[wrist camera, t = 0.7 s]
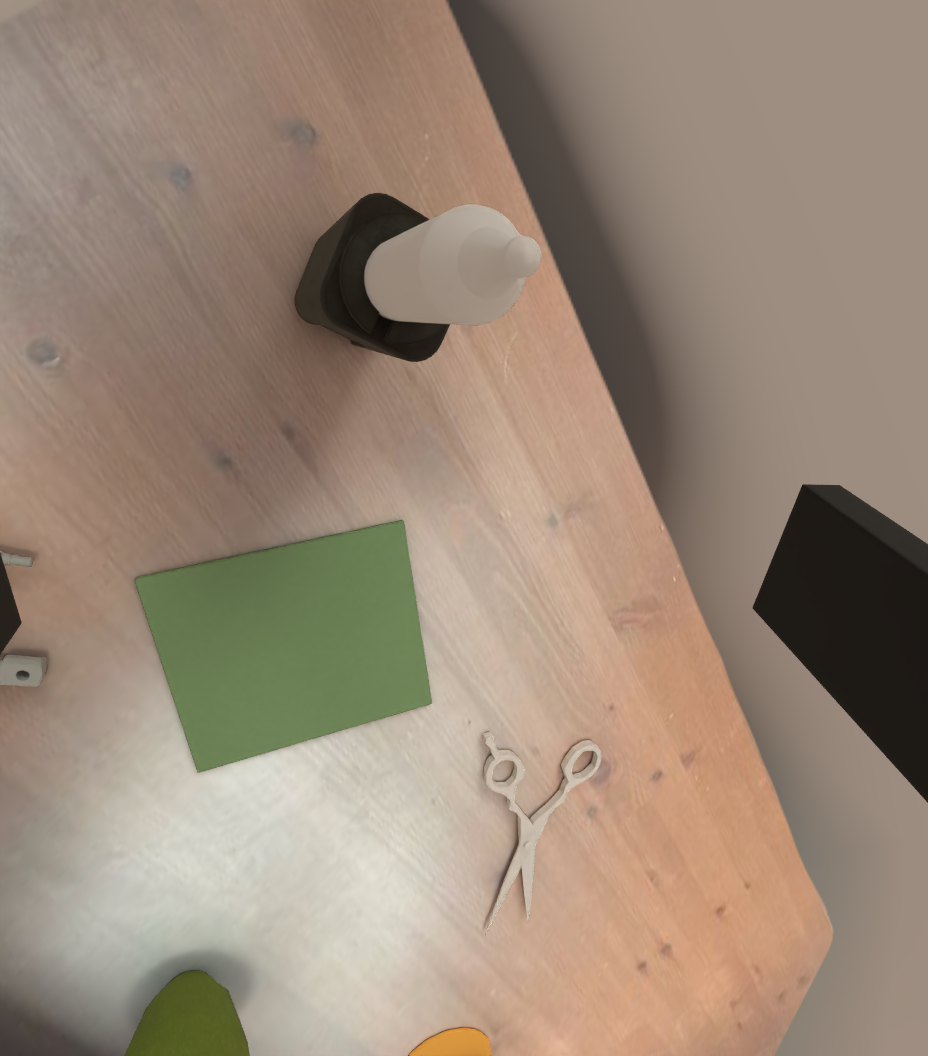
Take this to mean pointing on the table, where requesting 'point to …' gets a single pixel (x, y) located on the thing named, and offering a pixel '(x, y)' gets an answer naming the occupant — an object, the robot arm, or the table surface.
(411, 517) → the table surface
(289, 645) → the cloth
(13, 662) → the clamp
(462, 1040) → the cup
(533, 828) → the scissors
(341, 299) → the candle
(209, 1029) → the green rounded fruit
